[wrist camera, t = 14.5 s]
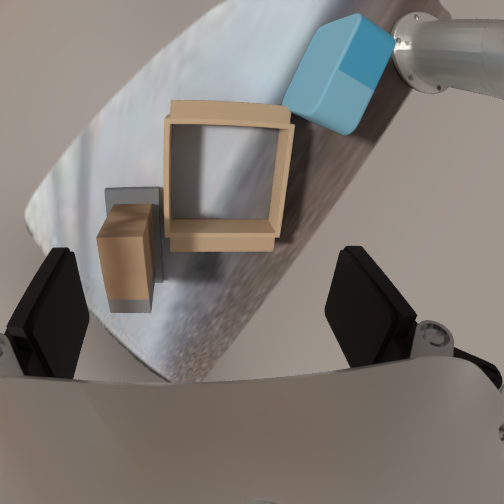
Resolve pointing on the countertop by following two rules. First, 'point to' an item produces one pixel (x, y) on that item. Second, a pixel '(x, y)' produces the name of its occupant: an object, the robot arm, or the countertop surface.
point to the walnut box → (128, 258)
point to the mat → (140, 197)
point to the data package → (340, 73)
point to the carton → (228, 230)
